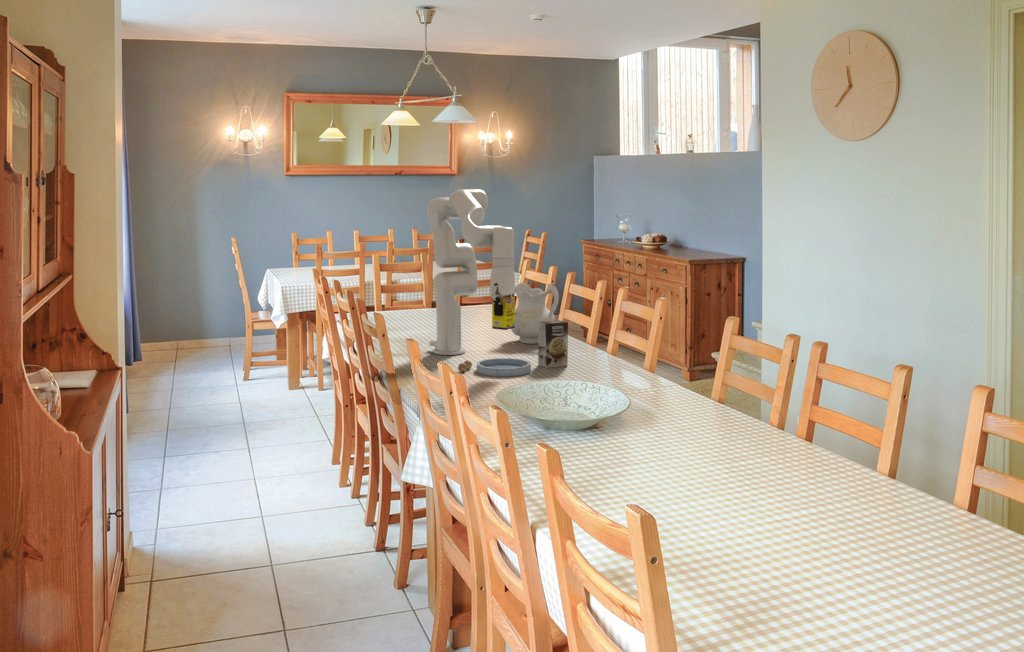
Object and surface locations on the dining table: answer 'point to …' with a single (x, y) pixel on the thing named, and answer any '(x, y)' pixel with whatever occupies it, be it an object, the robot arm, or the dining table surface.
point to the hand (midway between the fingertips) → (503, 314)
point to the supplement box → (505, 315)
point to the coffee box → (553, 344)
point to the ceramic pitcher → (532, 311)
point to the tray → (503, 367)
